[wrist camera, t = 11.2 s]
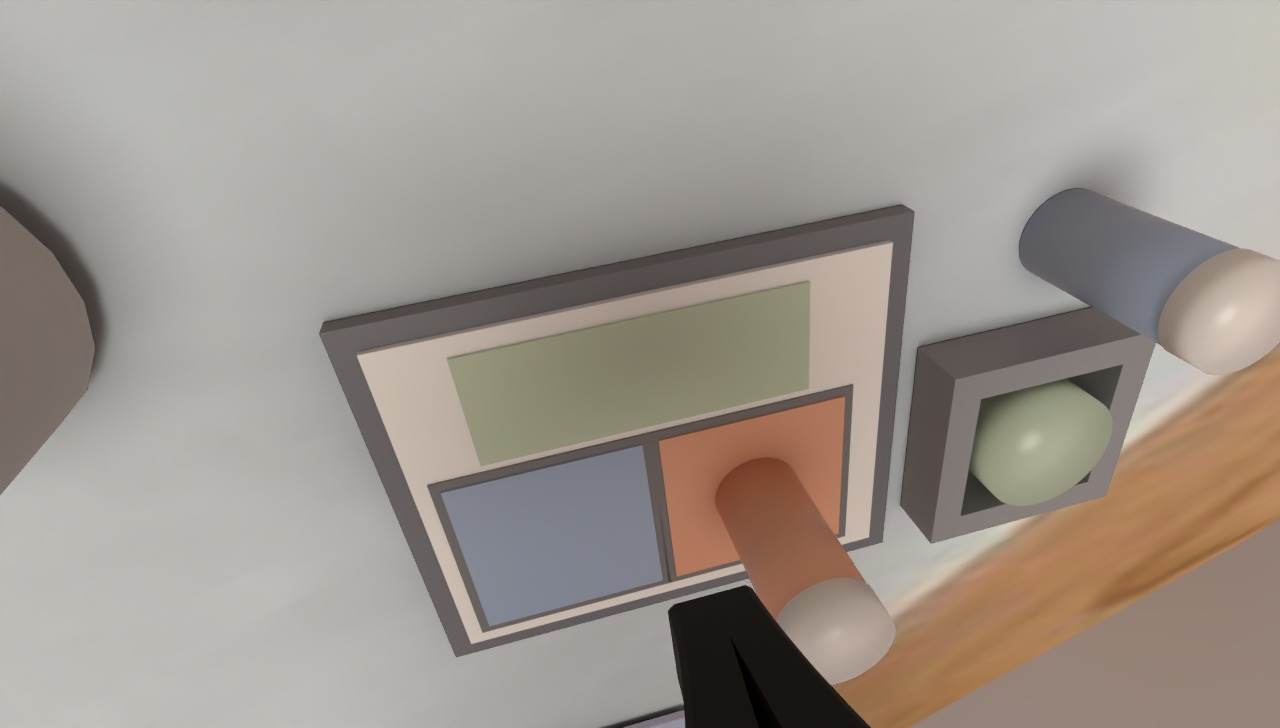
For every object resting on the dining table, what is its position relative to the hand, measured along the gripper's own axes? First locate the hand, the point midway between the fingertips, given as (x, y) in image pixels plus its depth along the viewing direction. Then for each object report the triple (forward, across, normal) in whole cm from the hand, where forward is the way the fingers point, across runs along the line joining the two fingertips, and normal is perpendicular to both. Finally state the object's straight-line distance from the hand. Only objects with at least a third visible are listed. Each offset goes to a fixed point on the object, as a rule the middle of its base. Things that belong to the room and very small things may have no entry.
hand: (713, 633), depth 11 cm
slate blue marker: (+10, -14, 0) cm, 18 cm away
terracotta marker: (+9, -4, +6) cm, 11 cm away
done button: (+9, -13, +6) cm, 17 cm away
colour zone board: (+10, -1, +4) cm, 11 cm away
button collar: (+10, -14, +6) cm, 18 cm away
